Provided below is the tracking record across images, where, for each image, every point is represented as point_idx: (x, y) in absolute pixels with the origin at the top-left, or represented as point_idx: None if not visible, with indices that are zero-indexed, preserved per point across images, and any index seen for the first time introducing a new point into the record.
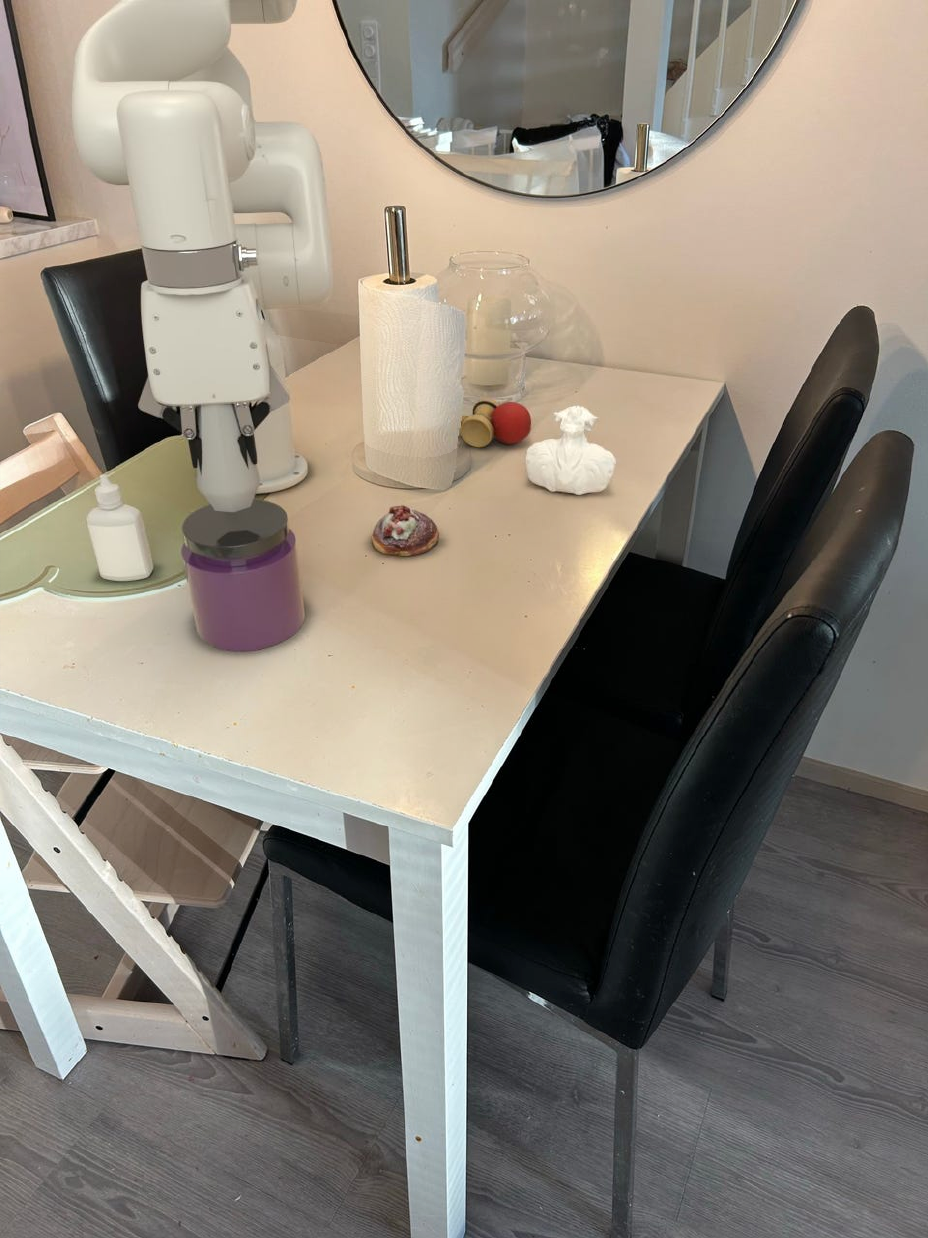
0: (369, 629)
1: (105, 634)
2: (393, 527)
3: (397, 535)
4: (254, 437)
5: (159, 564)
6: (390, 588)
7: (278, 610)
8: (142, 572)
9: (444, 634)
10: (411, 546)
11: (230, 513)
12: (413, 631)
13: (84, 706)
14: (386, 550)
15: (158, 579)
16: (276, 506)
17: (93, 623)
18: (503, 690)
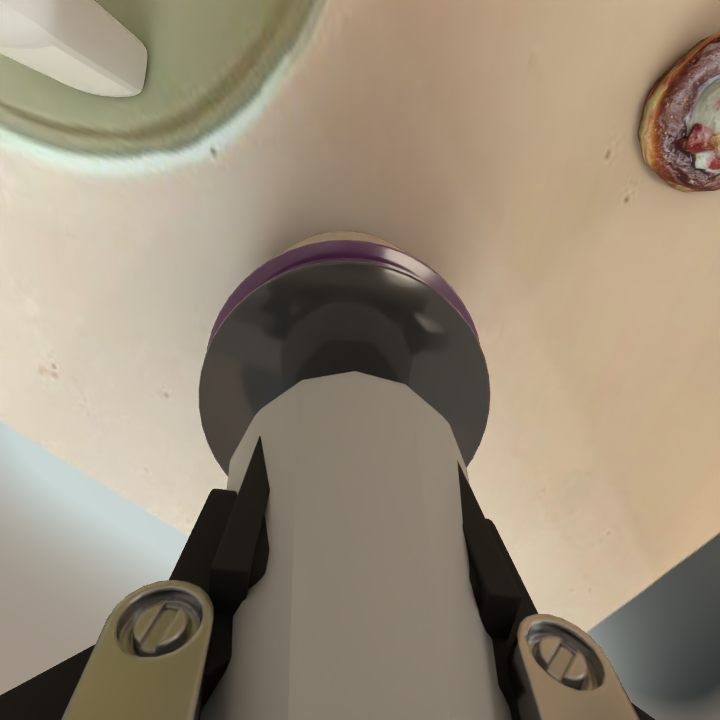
0: (521, 407)
1: (89, 293)
2: (717, 148)
3: (706, 166)
4: (525, 589)
5: (160, 26)
6: (600, 298)
7: None
8: (124, 93)
9: (619, 450)
10: (709, 189)
11: (337, 358)
12: (580, 430)
13: (96, 470)
14: (655, 167)
15: (165, 106)
16: (473, 354)
17: (57, 248)
18: (626, 572)
